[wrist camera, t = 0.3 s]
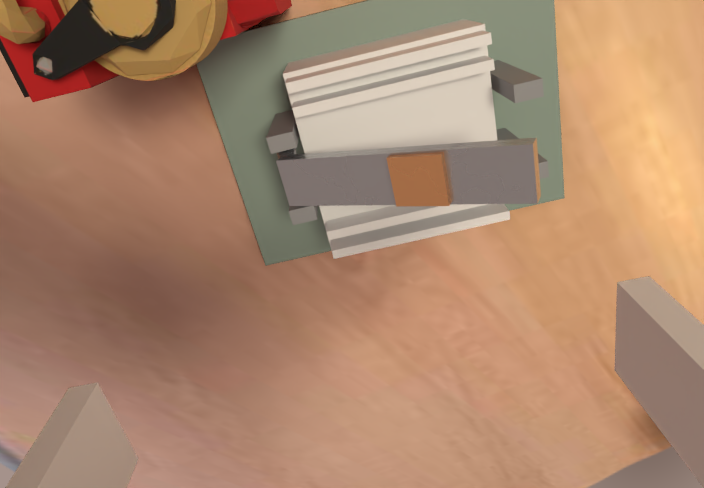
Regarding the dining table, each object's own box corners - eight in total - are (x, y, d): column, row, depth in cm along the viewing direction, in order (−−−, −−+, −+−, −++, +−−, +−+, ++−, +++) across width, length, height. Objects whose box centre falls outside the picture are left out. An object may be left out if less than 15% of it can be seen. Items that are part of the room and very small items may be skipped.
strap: (297, 196, 35) (279, 211, 33) (283, 147, 33) (263, 160, 31) (544, 191, 27) (536, 210, 25) (539, 127, 25) (531, 143, 24)
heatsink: (267, 258, 43) (253, 324, 35) (194, 44, 36) (153, 61, 27) (558, 192, 42) (617, 244, 33) (544, -45, 35) (615, -56, 26)
